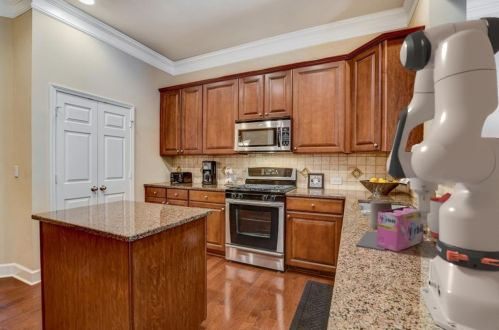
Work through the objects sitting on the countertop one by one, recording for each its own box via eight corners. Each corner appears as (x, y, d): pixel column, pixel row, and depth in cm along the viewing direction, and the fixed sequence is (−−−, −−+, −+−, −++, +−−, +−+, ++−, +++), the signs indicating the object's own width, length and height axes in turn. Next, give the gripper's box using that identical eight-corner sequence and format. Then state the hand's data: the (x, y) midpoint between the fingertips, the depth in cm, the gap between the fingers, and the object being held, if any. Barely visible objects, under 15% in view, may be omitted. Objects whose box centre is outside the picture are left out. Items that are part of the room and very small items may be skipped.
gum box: (404, 236, 108) (406, 206, 108) (425, 241, 102) (426, 209, 101) (375, 245, 95) (377, 211, 95) (397, 252, 89) (398, 215, 88)
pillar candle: (396, 229, 120) (396, 199, 121) (381, 231, 117) (381, 200, 117) (380, 225, 130) (379, 197, 130) (366, 227, 126) (365, 198, 127)
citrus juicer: (482, 240, 103) (482, 193, 103) (458, 245, 96) (457, 195, 96) (442, 230, 117) (441, 189, 117) (418, 235, 111) (418, 191, 111)
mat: (384, 251, 91) (384, 249, 91) (356, 246, 97) (356, 244, 97) (391, 235, 110) (391, 234, 110) (367, 232, 116) (367, 231, 116)
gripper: (435, 187, 83) (435, 227, 83) (432, 183, 100) (433, 217, 100) (413, 187, 87) (413, 225, 87) (414, 183, 104) (414, 215, 104)
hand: (423, 220), depth 94 cm, fingers open, 8 cm apart
